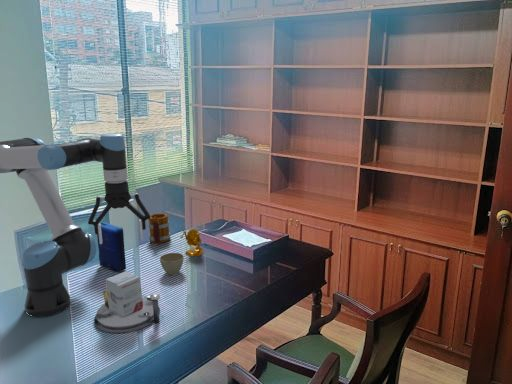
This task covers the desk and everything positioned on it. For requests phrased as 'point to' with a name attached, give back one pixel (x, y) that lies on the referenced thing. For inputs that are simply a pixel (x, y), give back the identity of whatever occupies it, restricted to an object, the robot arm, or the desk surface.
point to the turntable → (129, 321)
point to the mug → (159, 228)
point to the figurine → (193, 242)
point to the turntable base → (155, 319)
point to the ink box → (124, 293)
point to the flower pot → (172, 263)
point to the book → (112, 247)
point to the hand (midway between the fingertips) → (121, 240)
